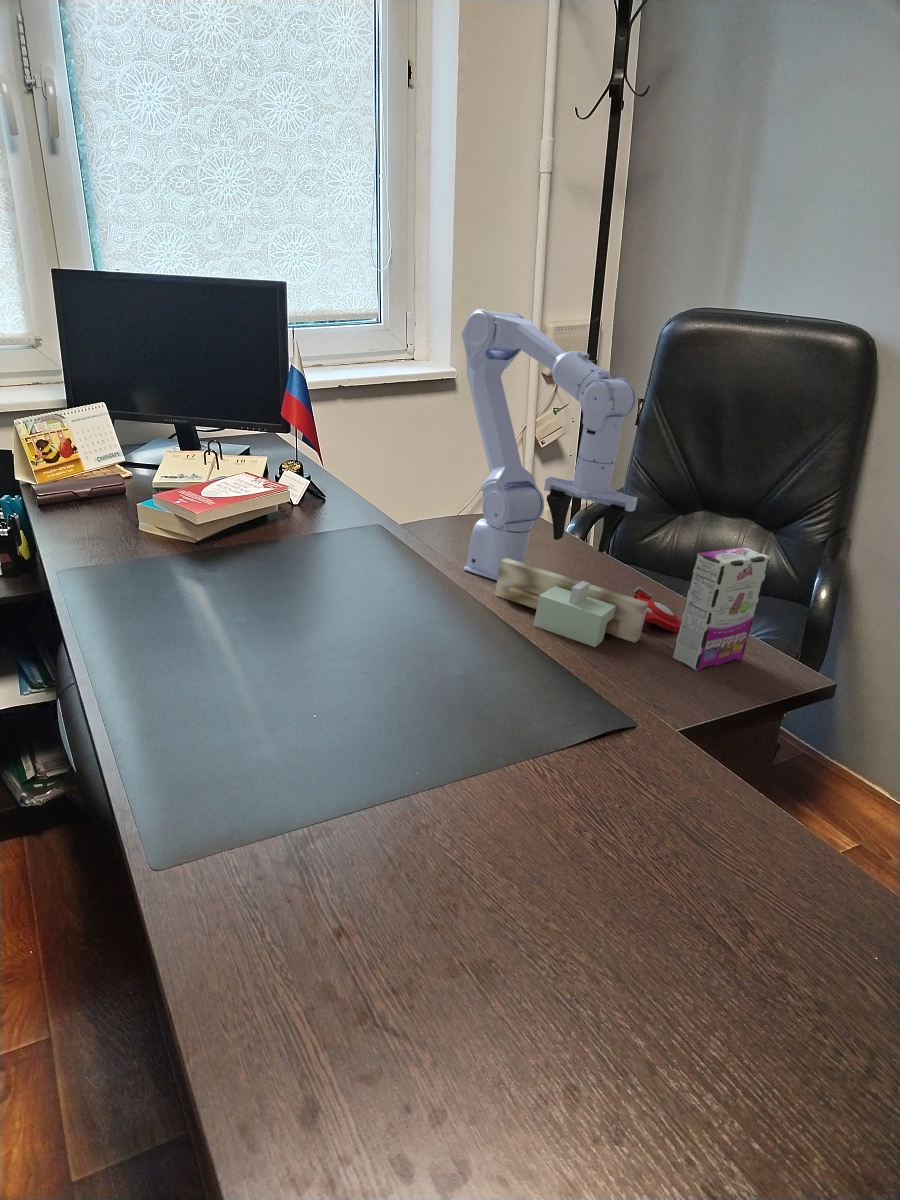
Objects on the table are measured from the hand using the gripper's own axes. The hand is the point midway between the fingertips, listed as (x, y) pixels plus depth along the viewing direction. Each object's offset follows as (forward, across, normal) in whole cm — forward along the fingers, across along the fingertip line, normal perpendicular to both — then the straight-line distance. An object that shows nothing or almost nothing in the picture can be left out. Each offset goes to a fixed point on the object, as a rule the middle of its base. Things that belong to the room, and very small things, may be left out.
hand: (579, 544), depth 131 cm
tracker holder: (+11, +12, +6) cm, 18 cm away
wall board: (+10, +2, -5) cm, 12 cm away
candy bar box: (+11, +24, -3) cm, 26 cm away
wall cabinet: (+11, +4, -9) cm, 15 cm away
